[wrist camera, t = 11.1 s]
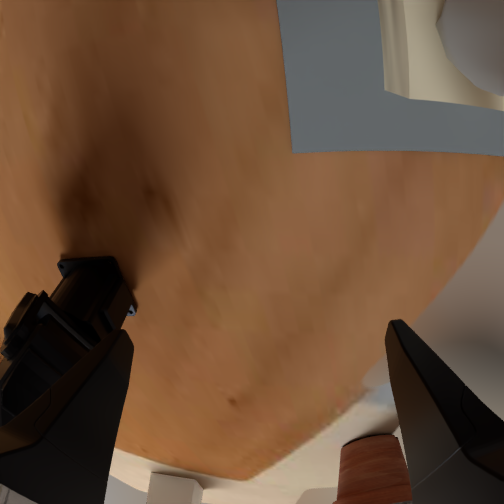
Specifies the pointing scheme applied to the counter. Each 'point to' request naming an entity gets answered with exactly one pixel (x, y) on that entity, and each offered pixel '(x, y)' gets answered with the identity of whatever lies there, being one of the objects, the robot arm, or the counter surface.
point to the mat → (365, 89)
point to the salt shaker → (475, 40)
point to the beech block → (423, 57)
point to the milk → (173, 490)
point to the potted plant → (373, 472)
